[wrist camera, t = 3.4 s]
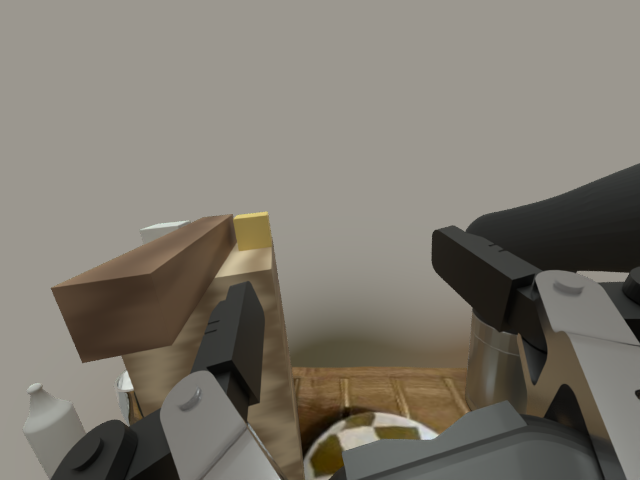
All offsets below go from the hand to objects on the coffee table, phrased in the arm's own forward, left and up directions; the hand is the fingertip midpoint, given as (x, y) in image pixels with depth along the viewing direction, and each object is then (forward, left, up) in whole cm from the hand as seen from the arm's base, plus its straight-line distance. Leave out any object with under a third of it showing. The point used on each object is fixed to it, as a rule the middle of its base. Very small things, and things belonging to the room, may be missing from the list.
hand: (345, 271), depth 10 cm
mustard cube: (+6, -22, -4) cm, 23 cm away
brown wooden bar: (+11, -14, -4) cm, 18 cm away
